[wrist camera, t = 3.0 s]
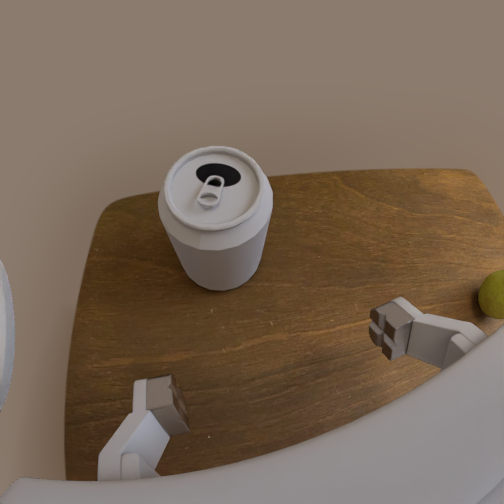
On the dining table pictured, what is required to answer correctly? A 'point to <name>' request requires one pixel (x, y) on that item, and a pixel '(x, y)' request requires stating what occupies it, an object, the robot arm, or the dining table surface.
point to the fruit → (492, 295)
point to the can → (216, 215)
